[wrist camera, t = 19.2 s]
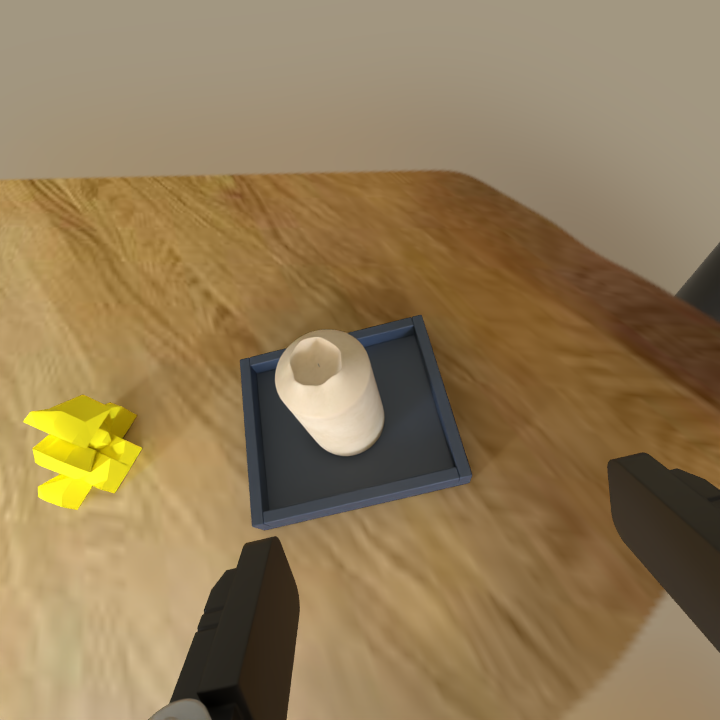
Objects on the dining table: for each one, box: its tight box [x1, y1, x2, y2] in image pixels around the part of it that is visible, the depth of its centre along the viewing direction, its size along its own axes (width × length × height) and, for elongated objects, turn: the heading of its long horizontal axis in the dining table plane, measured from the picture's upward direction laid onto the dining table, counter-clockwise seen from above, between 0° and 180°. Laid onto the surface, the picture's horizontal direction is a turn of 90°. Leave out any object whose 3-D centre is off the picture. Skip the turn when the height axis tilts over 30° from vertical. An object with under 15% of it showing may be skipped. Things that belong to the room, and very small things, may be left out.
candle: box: [275, 329, 385, 456], centre depth 28 cm, size 6×6×10 cm
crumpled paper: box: [23, 395, 142, 510], centre depth 31 cm, size 6×8×8 cm
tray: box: [240, 315, 472, 530], centre depth 32 cm, size 15×13×2 cm
